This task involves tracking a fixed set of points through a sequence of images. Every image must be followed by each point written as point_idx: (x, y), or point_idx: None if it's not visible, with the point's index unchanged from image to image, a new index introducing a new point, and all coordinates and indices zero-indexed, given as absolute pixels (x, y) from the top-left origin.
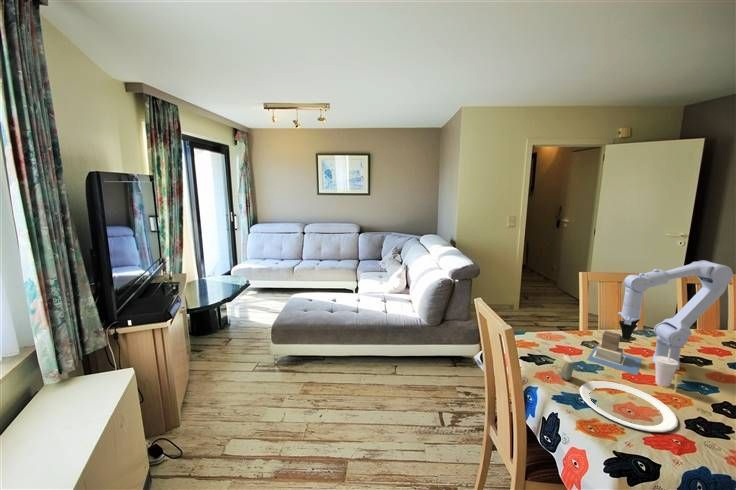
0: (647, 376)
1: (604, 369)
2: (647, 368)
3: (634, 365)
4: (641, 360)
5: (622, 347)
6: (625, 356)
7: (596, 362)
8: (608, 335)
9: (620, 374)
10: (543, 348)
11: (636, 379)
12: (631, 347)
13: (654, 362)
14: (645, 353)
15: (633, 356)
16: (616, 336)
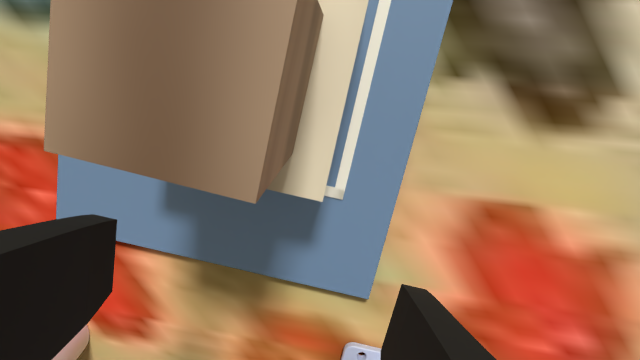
0: (117, 278)
1: (25, 28)
2: (243, 299)
3: (209, 233)
4: (332, 289)
5: (321, 191)
6: (339, 197)
7: None
8: (54, 6)
9: (25, 129)
10: None
11: (25, 213)
12: (599, 265)
13: (345, 357)
14: (515, 335)
15: (378, 251)
16: (102, 135)
